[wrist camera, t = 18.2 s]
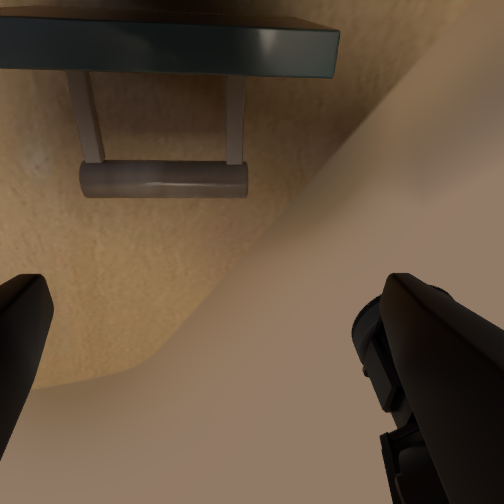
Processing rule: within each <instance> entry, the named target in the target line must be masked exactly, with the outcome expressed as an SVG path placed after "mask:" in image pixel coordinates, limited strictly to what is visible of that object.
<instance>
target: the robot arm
mask: <svg viewBox="0 0 504 504" xmlns="http://www.w3.org/2000/svg"><path fill="white" fill-rule="evenodd" d="M379 308H380V313H381V315H380V316H379V319H378V323H377V326H376V329H375V332H374V335H373V337H372V339H371V340H370V343H369V346H368V349H367V352H366V356H365V359H364V366H363V373H364V375H365V376H366V377H370V380H371V382H372V385H373V387H374V390H375V392H376V395H377V397H378V399H379V402H380V405H381V407H382V409H383V410H384V411H385V412H386V413H389V412H390V413H391V414H392V417H393V419H394V421H395V424H396V426H397V429H396V430H394V431H392V432H390V433H388V432H386V433H384V434H383V435H380V441H381V445H382V455H383V460H384V464H385V469H386V473H387V478H388V483H389V487H390V492H391V497H392V501H393V504H504V330H502V329H500V328H499V327H497V326H496V325H494V324H492V323H491V322H489V321H487V320H486V319H484V318H482V317H481V316H479V315H477V314H476V313H474V312H472V311H471V310H469V309H467V308H466V307H464V306H463V305H461V304H459V303H458V302H456V301H454V300H453V299H451V298H449V297H448V296H446V295H444V294H443V293H441V292H439V291H438V290H436V289H434V288H433V287H431V286H429V285H428V284H426V283H424V282H422V281H421V280H419V279H417V278H416V277H414V276H413V275H411V274H409V273H392V274H390V275H389V276H388V278H387V280H386V283H385V286H384V289H383V293H382V296H381V299H380V304H379ZM53 313H54V305H53V301H52V298H51V295H50V292H49V289H48V286H47V283H46V280H45V278H44V276H42V275H41V274H20V275H17V276H16V277H14V278H12V279H10V280H9V281H7V282H5V283H3V284H2V285H0V460H1V458H2V456H3V453H4V451H5V449H6V446H7V444H8V441H9V439H10V437H11V434H12V432H13V430H14V427H15V425H16V422H17V420H18V418H19V415H20V413H21V411H22V408H23V406H24V404H25V401H26V399H27V397H28V394H29V392H30V389H31V387H32V384H33V382H34V379H35V376H36V372H37V369H38V366H39V362H40V359H41V356H42V352H43V349H44V345H45V342H46V338H47V335H48V331H49V328H50V324H51V321H52V318H53Z"/></svg>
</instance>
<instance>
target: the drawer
mask: <svg viewBox="0 0 504 504" xmlns="http://www.w3.org/2000/svg"><path fill="white" fill-rule="evenodd" d="M339 39H340V31H339V30H337V29H334V28H330V27H327V26H323V25H320V24H316V23H313V22H309V21H306V20H303V19H299V18H296V17H279V16H257V15H235V14H213V13H190V12H168V11H146V10H124V9H102V8H80V7H58V6H36V5H33V6H17V7H2V8H0V69H31V70H64V71H65V72H66V77H67V81H68V86H69V90H70V95H71V100H72V104H73V109H74V113H75V118H76V122H77V127H78V132H79V136H80V141H81V145H82V150H83V154H84V159H85V160H83V161H82V163H81V165H80V171H79V180H80V186H81V190H82V192H83V194H84V196H85V197H87V198H247V195H248V165H247V162H246V161H243V133H244V98H245V76H260V77H292V78H325V79H332V78H333V77H334V72H335V65H336V59H337V52H338V45H339ZM90 71H96V72H129V73H162V74H194V75H226V161H171V160H104V159H105V152H104V146H103V141H102V135H101V130H100V125H99V119H98V114H97V108H96V103H95V98H94V92H93V87H92V81H91V76H90Z"/></svg>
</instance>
